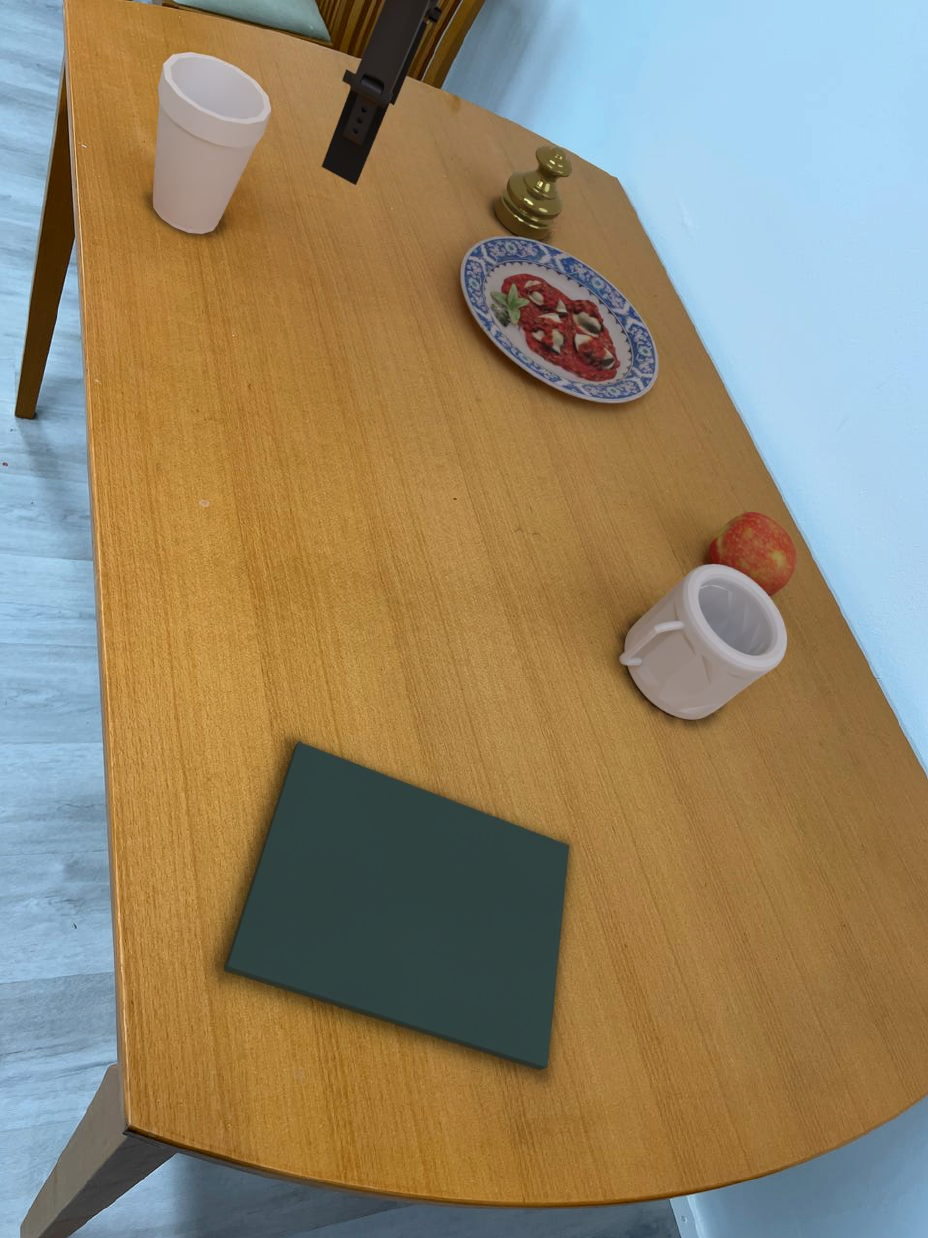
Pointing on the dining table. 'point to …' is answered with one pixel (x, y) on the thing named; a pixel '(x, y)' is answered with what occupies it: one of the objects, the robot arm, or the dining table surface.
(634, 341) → the ceramic plate
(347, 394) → the dining table surface
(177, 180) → the foam cup
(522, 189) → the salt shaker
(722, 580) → the mug
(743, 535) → the apple
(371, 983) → the mat
